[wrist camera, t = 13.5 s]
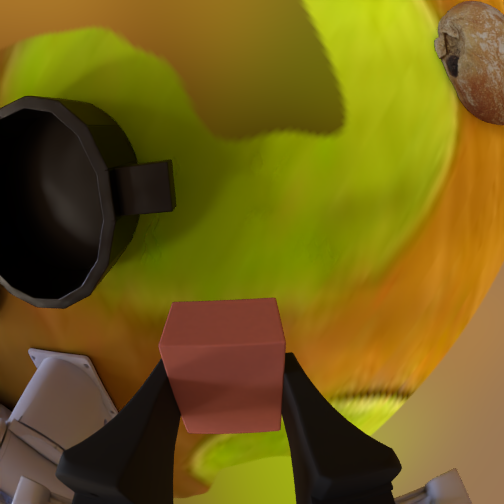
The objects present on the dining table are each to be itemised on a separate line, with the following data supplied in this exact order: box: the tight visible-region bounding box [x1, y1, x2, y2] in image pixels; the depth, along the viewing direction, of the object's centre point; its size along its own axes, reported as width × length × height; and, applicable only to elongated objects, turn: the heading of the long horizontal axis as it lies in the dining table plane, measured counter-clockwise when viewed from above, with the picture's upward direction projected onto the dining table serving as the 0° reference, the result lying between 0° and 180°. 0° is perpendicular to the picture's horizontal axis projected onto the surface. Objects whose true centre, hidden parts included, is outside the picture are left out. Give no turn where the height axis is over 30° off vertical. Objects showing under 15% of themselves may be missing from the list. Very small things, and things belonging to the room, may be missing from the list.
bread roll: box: [434, 1, 504, 125], centre depth 11 cm, size 10×10×8 cm
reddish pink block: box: [159, 298, 286, 434], centre depth 12 cm, size 6×4×3 cm
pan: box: [0, 96, 176, 309], centre depth 14 cm, size 12×18×4 cm
